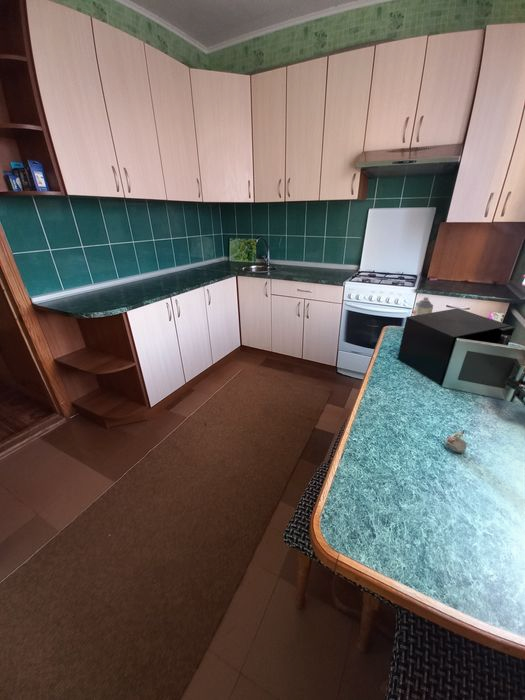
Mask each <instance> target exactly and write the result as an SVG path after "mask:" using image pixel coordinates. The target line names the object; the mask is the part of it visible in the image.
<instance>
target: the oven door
mask: <svg viewBox="0 0 525 700" xmlns="http://www.w3.org/2000/svg"><path fill="white" fill-rule="evenodd" d="M513 376H515V378H514V381H517V382H519V383H522V380H524V381H525V347H523V346H515V345H509V344H508V345H502V344H495V343H488V342H481V341H474V340H467V339H460V338H456V341H455V344H454V348H453V351H452V354H451V357H450V360H449V364H448V367H447V370H446V373H445V376H444V379H443V383H442V384H441V387H442V388H446V389H451V390H456V391H461V392H465V393H471V394H476V395H481V396H485V397H491V398H496V399H500V400H505V401H506V402H508V403H513V402H514V401H515V399H516V398H517V397H516V396H515V395H514V392H515V390H514V389H512V388H510V387H508V386H507V385H505V384H504V381H505V379H506V378H510V379H511V377H513Z"/></svg>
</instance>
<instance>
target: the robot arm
mask: <svg viewBox="0 0 525 700" xmlns="http://www.w3.org/2000/svg"><path fill="white" fill-rule="evenodd" d="M514 378H515V376H513V377H511V379H510V378H506V379H505V381H504V384H505V385H507V386H508V387H510V388H512V389H514V390H515V392H514V395H515V396H516V397H515V398H517V399H518V401H519V402H520V403H521V404H522V405H524V406H525V379H524V380H522V383H519V382H517V381H514Z"/></svg>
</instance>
